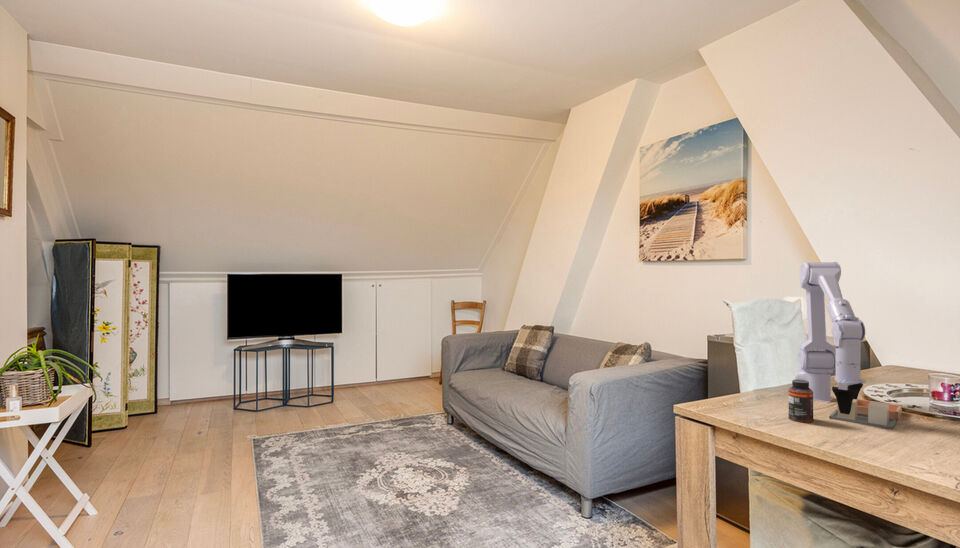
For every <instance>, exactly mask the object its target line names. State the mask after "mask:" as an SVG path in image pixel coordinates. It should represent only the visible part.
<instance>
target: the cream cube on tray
mask: <svg viewBox="0 0 960 548" xmlns="http://www.w3.org/2000/svg"><path fill="white" fill-rule="evenodd" d="M877 402H878V401H875V402H870V403H869V404H868V422H869V423H875V424H880V425H886V426H887V424H888V423H889V404H890V403H888V404H884V403H885V402H881V403H877Z"/></svg>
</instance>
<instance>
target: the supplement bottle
mask: <svg viewBox="0 0 960 548" xmlns="http://www.w3.org/2000/svg"><path fill="white" fill-rule="evenodd" d="M791 385H792V386H790V387H789V388H788V392H787V393H788V397H787V398H788V403H787V404H788V406H787V407H788V420H790V421H792V422H796V423H802V424H812V423H813V422H814V400H813V391H812V390H811V389H810V388H809V382H808V381H806V380H800V379H796V380H795V379H792V383H791Z"/></svg>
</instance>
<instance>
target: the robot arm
mask: <svg viewBox="0 0 960 548" xmlns="http://www.w3.org/2000/svg"><path fill="white" fill-rule="evenodd" d="M841 276H842V268H841V265H840V264H839V262H838V261H831V262H829V261H828V262H813V261H812V262H807V261H803V263H802V264H801V265H800V268H799V283H800V288H802V289H804V290H805V297H806V315H807V317H806V319H807V335H808V336H807V337H808V338H807V339H808V340H806V341H805V342H803V343H802V344H801V345H799V346H798V354H797V364H798V367H799V368H800V369H796V372H795V378H794V380H796V379H800V380H806V381H808V382H809V388H810V389H811V390H812V391H813V401H815V402H823V403H831V401H833V400H834V399H835V398H836V402H837V408H838V407H839V411H840V413H842V414H850V411H851V406H852V401H853V399H859V398H858V397H859V394H860V392H861V389H862V388H863V387H864V384H866V379H862V378H861V359H862V357H861V355H862V354H861V350H862V349H861V348H862V345H861V344H862V343H861V342H862V341H864V340H865V337H866V327H865V324H864V321H863V320H861V319H860V318H859V317H857V316H856V315H855V312H854V310H853V309H852V308H853V307H852V305H851V304H850V301H849V300H847V299H844V298H843V295H842V290H841V286H840V283H839V282H840V279H841ZM825 297H826V299H827V301H828V303H827V305H826V304H825ZM825 305H826V306H825ZM825 307H826V308H825ZM826 310H827V312H828V314H829V318H830V320H831V322H832V326H831V335H832V338H833V345H832V344H830V343H829V342H828V341H827V329H826V328H827V327H826ZM834 371H835V376H834V381H835V382H837V384H838V385H837V386H834V385H833V386H832V387H831V384H832V383H831V381H832V380H831V379H832V374H834ZM831 391H832V392H833V395H834V396H831V395H832V394H831Z"/></svg>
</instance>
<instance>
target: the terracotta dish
mask: <svg viewBox="0 0 960 548" xmlns="http://www.w3.org/2000/svg"><path fill="white" fill-rule="evenodd" d="M857 400H858V403H857V413H861V414H867V415H868V404H869V403H870V402H877V403H882V402H880V401H873V400H867V399H866V400H865V399H859V398H857ZM883 403H884V404H889V418H892V419H897V421H899V419H900V417H901V415H902V414H903V405H900V404H894V403H887V402H883Z"/></svg>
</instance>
